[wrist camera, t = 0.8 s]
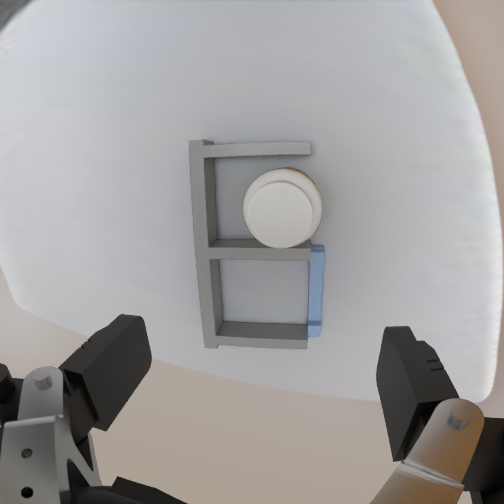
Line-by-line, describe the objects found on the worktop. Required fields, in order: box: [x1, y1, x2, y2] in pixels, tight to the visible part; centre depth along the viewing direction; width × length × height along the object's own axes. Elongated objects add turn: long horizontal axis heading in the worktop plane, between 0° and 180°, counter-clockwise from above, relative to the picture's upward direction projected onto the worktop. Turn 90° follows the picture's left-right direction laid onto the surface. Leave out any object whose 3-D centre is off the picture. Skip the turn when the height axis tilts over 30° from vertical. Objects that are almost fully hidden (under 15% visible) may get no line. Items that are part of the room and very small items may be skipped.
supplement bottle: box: [243, 168, 322, 248], centre depth 23 cm, size 5×5×10 cm
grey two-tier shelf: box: [189, 140, 311, 349], centre depth 28 cm, size 19×10×3 cm, turn 2°
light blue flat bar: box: [308, 245, 324, 337], centre depth 29 cm, size 8×1×2 cm, turn 2°
